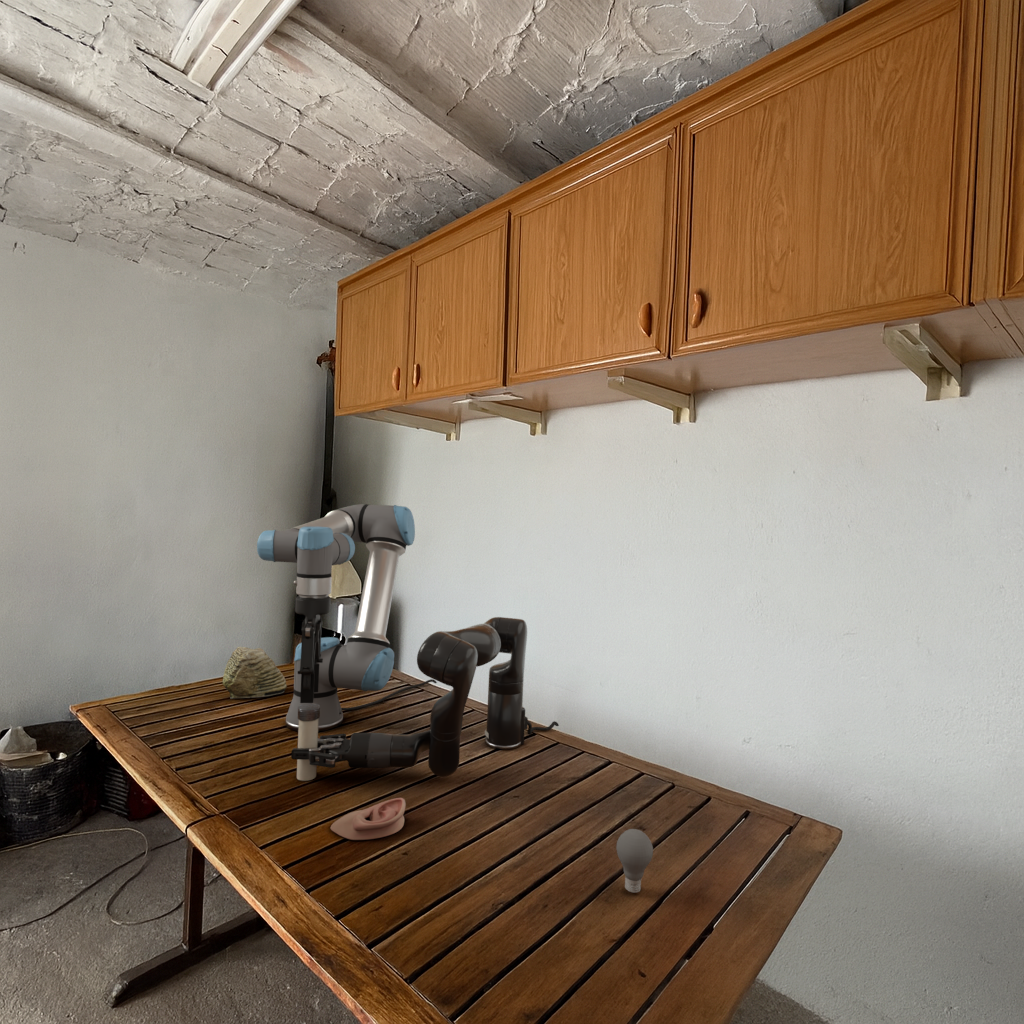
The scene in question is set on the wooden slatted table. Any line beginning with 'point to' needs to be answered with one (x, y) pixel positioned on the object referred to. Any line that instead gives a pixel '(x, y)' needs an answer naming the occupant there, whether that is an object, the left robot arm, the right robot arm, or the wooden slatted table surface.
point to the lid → (308, 712)
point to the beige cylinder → (307, 740)
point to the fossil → (252, 674)
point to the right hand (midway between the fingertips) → (295, 749)
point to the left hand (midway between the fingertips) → (309, 696)
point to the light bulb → (634, 857)
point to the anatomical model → (372, 821)
